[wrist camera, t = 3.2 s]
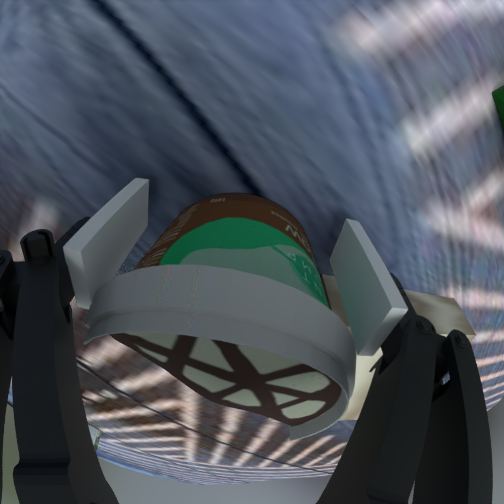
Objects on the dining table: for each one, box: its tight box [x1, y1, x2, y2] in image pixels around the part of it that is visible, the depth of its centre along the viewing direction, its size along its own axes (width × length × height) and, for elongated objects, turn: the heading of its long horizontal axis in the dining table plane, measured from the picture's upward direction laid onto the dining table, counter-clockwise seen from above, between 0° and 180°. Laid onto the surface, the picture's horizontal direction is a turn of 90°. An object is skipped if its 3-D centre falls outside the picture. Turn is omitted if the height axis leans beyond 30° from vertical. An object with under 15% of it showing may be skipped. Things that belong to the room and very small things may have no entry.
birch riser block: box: [268, 274, 476, 420], centre depth 21 cm, size 14×14×5 cm
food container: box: [83, 193, 357, 441], centre depth 12 cm, size 12×6×10 cm, turn 43°
